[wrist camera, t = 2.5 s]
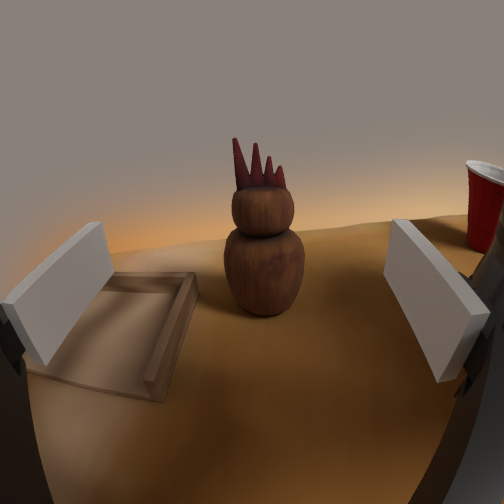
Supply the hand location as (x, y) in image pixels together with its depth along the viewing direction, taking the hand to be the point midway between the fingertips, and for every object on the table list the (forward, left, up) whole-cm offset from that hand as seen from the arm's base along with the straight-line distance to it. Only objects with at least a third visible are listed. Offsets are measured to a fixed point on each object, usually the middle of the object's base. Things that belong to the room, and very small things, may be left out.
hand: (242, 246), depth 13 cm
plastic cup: (-34, -22, -12) cm, 42 cm away
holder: (+15, -6, -12) cm, 20 cm away
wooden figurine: (-1, -11, -12) cm, 16 cm away
